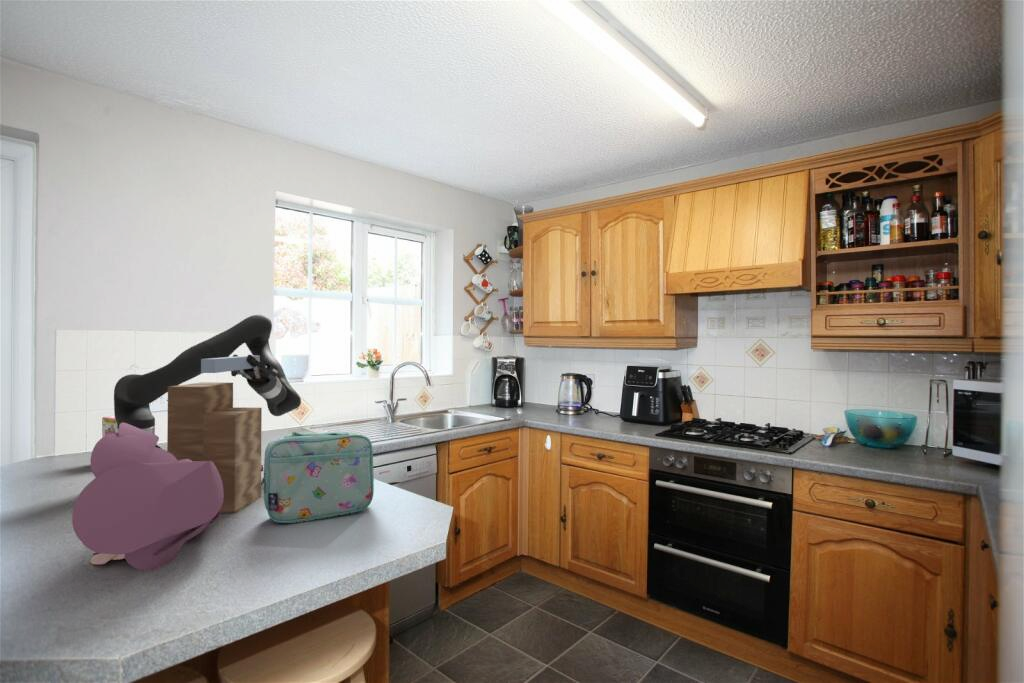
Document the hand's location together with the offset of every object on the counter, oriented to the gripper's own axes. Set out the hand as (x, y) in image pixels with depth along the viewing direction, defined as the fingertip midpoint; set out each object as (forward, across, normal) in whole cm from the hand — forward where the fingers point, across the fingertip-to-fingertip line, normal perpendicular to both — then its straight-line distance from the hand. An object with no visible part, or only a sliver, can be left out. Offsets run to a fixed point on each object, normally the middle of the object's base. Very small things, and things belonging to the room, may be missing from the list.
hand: (241, 357), depth 145 cm
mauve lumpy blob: (+14, +1, +53) cm, 55 cm away
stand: (-11, -2, +38) cm, 40 cm away
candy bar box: (-51, -61, +16) cm, 81 cm away
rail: (+2, 0, +5) cm, 6 cm away
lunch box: (-4, +28, +43) cm, 51 cm away
